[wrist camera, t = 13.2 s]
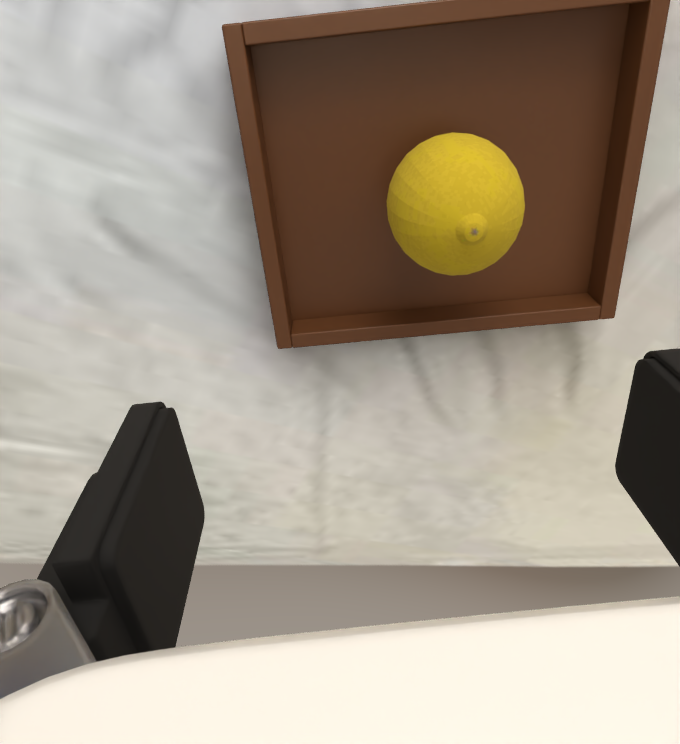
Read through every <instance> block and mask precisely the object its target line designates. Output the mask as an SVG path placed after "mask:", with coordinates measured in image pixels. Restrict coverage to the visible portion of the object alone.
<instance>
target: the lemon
mask: <svg viewBox="0 0 680 744" xmlns="http://www.w3.org/2000/svg"><path fill="white" fill-rule="evenodd" d="M524 211H525V201H524V190H523V186H522V183H521V180H520V177H519V175H518V172H517V169H516V168H515V166H514V165H513V163H512V162H511V161H510V159H509V158H508V156H507V155H506V154H505V152H503V151H502V150H501V149H500V148H498V147H497V146H496V145H494V144H493V143H491V142H490V141H489V140H486V139H484V138H481V137H478V136H475V135H473V134H467V133H453V132H452V133H447V134H443V135H438V136H434V137H432V138H430V139H428V140H426V141H424V142H422V143H420V144H418V145H417V146H416V147H415V148H414V149H412V150H411V151H410V152H409V153H408V154H406V156H405V157H404V159H403V160H402V161H401V163H400V164H399V165H398V167H397V168H396V170H395V173H394V175H393V177H392V180H391V182H390V185H389V190H388V196H387V213H388V221H389V224H390V227H391V230H392V233H393V235H394V238H395V239H396V241H397V242H398V244H399V245H400V247H401V248H402V250H403V251H404V252H405V253H406V254H407V255H408V256H409V257H410V258H411V259H413V260H414V261H415V262H416V263H417V264H419V265H420V266H422V267H424V268H427V269H429V270H431V271H433V272H436V273H440V274H446V275H451V276H454V275H467V274H471V273H474V272H477V271H481V270H483V269H485V268H487V267H488V266H490V265H492V264H494V263H495V262H496V261H498V260H499V259H500V258H501V257H502V256H503V255H504V254H505V253H506V252H507V251H508V250H509V248H510V247H511V245H512V244H513V243H514V241H515V240H516V237H517V235H518V233H519V230H520V228H521V226H522V222H523V216H524Z"/></svg>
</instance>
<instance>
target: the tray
mask: <svg viewBox="0 0 680 744" xmlns="http://www.w3.org/2000/svg"><path fill="white" fill-rule="evenodd" d="M669 4H670V0H437V1H428V2H419V3H410V4H401V5H392V6H383V7H375V8H366V9H357V10H348V11H339V12H330V13H321V14H312V15H303V16H295V17H286V18H277V19H268V20H259V21H250V22H243V23H232V24H224V25H222V31H223V37H224V42H225V48H226V54H227V60H228V65H229V71H230V77H231V83H232V88H233V94H234V100H235V106H236V112H237V117H238V123H239V129H240V135H241V140H242V146H243V152H244V158H245V163H246V169H247V175H248V181H249V186H250V192H251V198H252V204H253V209H254V215H255V221H256V227H257V232H258V238H259V244H260V250H261V256H262V261H263V267H264V273H265V279H266V284H267V290H268V296H269V302H270V307H271V313H272V319H273V325H274V330H275V336H276V342H277V347H278V349H283V348H291V347H292V346H293V348H295V347H306V346H317V345H328V344H339V343H350V342H361V341H372V340H382V339H393V338H404V337H415V336H426V335H437V334H448V333H459V332H469V331H480V330H491V329H502V328H513V327H524V326H535V325H545V324H556V323H567V322H578V321H589V320H598V319H609V318H614V317H615V311H616V306H617V300H618V294H619V289H620V283H621V277H622V272H623V266H624V260H625V254H626V249H627V243H628V237H629V232H630V226H631V220H632V215H633V209H634V203H635V198H636V192H637V186H638V181H639V175H640V169H641V164H642V158H643V152H644V146H645V141H646V135H647V129H648V124H649V118H650V112H651V107H652V101H653V95H654V90H655V84H656V78H657V73H658V67H659V61H660V55H661V50H662V44H663V38H664V33H665V27H666V21H667V16H668V10H669ZM452 132H453V133H467V134H473V135H475V136H478V137H481V138H484V139H486V140H489V141H490V142H491V143H493V144H494V145H496V146H497V147H498V148H500V149H501V150H502V151H503V152H505V154H506V155H507V156H508V158H509V159H510V161H511V162H512V163H513V165H514V166H515V168H516V169H517V172H518V175H519V177H520V180H521V183H522V186H523V190H524V201H525V211H524V216H523V222H522V226H521V228H520V230H519V233H518V235H517V237H516V240H515V241H514V243H513V244H512V245H511V247H510V248H509V250H508V251H507V252H506V253H505V254H504V255H503V256H502V257H501V258H500V259H499V260H498V261H496V262H495V263H494V264H492V265H490V266H488V267H487V268H485V269H483V270H481V271H477V272H474V273H471V274H467V275H454V276H451V275H446V274H440V273H436V272H433V271H431V270H429V269H427V268H424V267H422V266H420V265H419V264H417V263H416V262H415V261H414V260H413V259H411V258H410V257H409V256H408V255H407V254H406V253H405V252H404V251H403V250H402V248H401V247H400V245H399V244H398V242H397V241H396V239H395V238H394V235H393V233H392V230H391V227H390V224H389V221H388V213H387V196H388V190H389V185H390V182H391V180H392V177H393V175H394V173H395V170H396V168H397V167H398V165H399V164H400V163H401V161H402V160H403V159H404V157H405V156H406V154H408V153H409V152H410V151H411V150H412V149H414V148H415V147H416V146H417V145H418V144H420V143H422V142H424V141H426V140H428V139H430V138H432V137H434V136H438V135H443V134H447V133H452Z"/></svg>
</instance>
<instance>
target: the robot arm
mask: <svg viewBox="0 0 680 744" xmlns="http://www.w3.org/2000/svg"><path fill="white" fill-rule="evenodd" d="M615 468H616V474H617V477H618V479H619V481H620V483H621V484H622V486H623V487H624V488H625V490H626V491H627V493H628V494H629V495H630V497H631V498H632V500H633V501H634V503H635V504H636V505H637V507H638V508H639V510H640V511H641V512H642V514H643V515H644V517H645V518H646V520H647V521H648V522H649V524H650V525H651V527H652V528H653V529H654V531H655V532H656V534H657V535H658V537H659V538H660V539H661V541H662V542H663V544H664V545H665V546H666V548H667V549H668V551H669V552H670V554H671V555H672V556H673V558H674V559H675V561H676V562H677V563H678V565H679V566H680V349H668V350H659V351H650V352H648V353H646V355H645V356H644V359H641V360H639V361H638V362H637V363H636V366H635V370H634V375H633V380H632V385H631V390H630V394H629V399H628V404H627V409H626V414H625V419H624V424H623V429H622V434H621V439H620V443H619V448H618V453H617V458H616V464H615ZM203 524H204V506H203V502H202V499H201V495H200V492H199V489H198V485H197V482H196V479H195V475H194V472H193V469H192V465H191V462H190V459H189V455H188V452H187V448H186V445H185V442H184V438H183V435H182V432H181V428H180V425H179V422H178V418H177V415H176V412H175V410H174V409H173V408H166V406H165V405H164V403H162V402H153V403H143V404H135V405H132V406H131V408H130V410H129V411H128V413H127V415H126V417H125V419H124V421H123V423H122V425H121V427H120V429H119V431H118V433H117V435H116V437H115V439H114V441H113V443H112V445H111V447H110V449H109V451H108V453H107V455H106V457H105V459H104V461H103V463H102V465H101V467H100V469H99V470H98V472H97V473H95V474H93V475H92V476H91V477H90V479H89V480H88V482H87V484H86V486H85V488H84V490H83V492H82V493H81V495H80V497H79V499H78V501H77V503H76V505H75V507H74V509H73V511H72V513H71V515H70V516H69V518H68V520H67V522H66V524H65V526H64V528H63V530H62V532H61V534H60V536H59V538H58V540H57V541H56V543H55V545H54V547H53V549H52V551H51V553H50V555H49V557H48V559H47V561H46V563H45V565H44V566H43V569H42V570H41V572H40V574H39V576H38V578H37V579H35V580H22V581H18V582H15V583H11V584H8V585H6V586H4V587H2V588H0V744H680V596H677V597H666V598H655V599H644V600H633V601H622V602H611V603H600V604H589V605H578V606H568V607H558V608H547V609H537V610H528V611H516V612H506V613H495V614H485V615H475V616H466V617H455V618H444V619H436V620H435V619H434V620H424V621H414V622H404V623H394V624H384V625H375V626H366V627H356V628H345V629H336V630H326V631H316V632H307V633H298V634H287V635H277V636H268V637H259V638H250V639H242V640H235V641H234V640H233V641H225V642H217V643H208V644H200V645H192V646H184V647H175V646H176V641H177V637H178V633H179V628H180V624H181V620H182V616H183V611H184V607H185V603H186V598H187V594H188V589H189V585H190V581H191V576H192V571H193V568H194V564H195V559H196V555H197V550H198V546H199V542H200V537H201V533H202V529H203Z"/></svg>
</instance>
